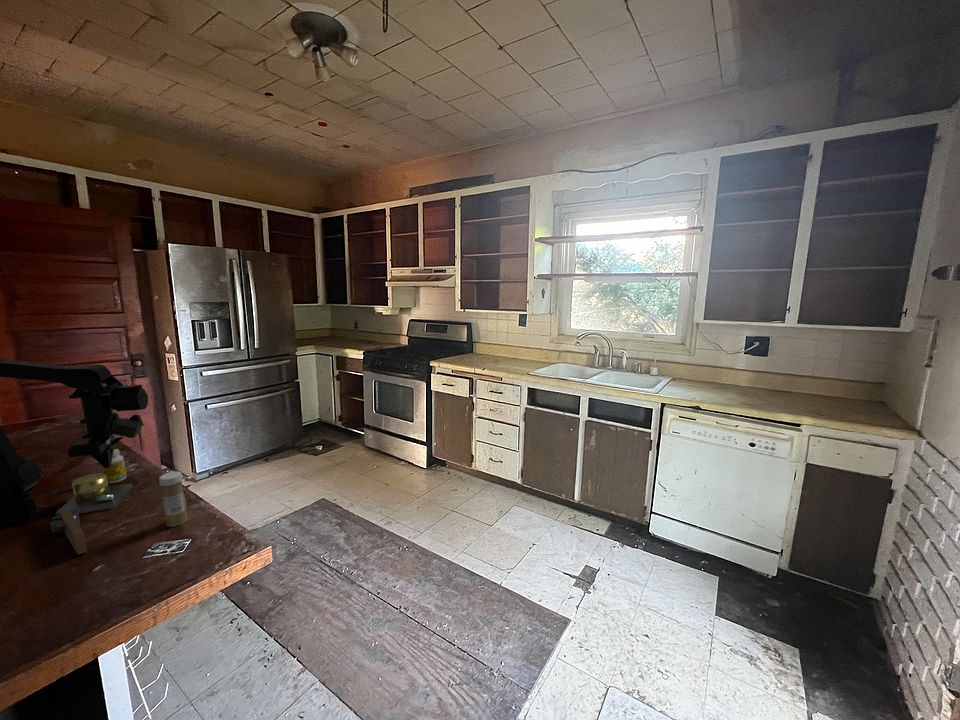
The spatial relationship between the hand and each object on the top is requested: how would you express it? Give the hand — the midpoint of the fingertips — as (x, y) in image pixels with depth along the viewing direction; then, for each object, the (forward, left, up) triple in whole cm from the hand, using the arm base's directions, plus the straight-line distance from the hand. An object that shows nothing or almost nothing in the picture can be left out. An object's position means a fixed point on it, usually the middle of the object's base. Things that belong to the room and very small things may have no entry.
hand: (107, 467), depth 108 cm
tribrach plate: (-6, +5, -12) cm, 14 cm away
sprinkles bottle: (+18, -15, -12) cm, 27 cm away
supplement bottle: (-7, +19, -12) cm, 23 cm away
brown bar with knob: (-3, -14, -11) cm, 18 cm away
